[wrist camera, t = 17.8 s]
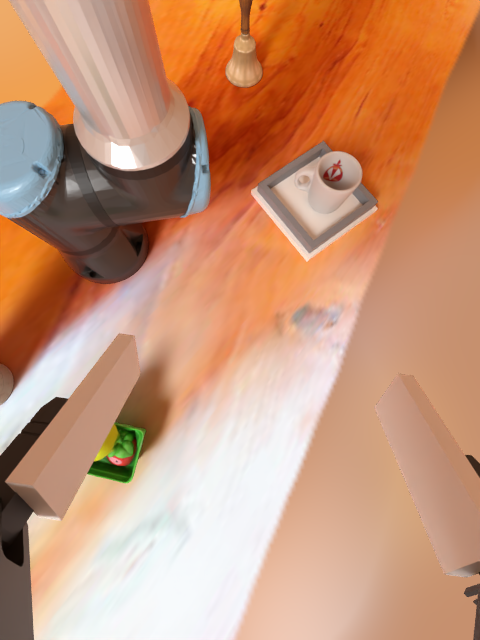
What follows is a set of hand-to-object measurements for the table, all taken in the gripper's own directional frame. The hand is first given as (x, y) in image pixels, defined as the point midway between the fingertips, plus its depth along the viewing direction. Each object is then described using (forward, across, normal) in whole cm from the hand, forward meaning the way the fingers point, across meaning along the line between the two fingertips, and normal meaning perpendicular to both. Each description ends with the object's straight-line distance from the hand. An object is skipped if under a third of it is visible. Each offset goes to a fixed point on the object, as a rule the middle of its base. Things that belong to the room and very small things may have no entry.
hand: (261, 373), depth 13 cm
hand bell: (+69, -8, +22) cm, 73 cm away
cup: (+47, +10, +2) cm, 48 cm away
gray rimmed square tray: (+47, +10, +1) cm, 48 cm away
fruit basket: (+13, -19, -34) cm, 41 cm away
